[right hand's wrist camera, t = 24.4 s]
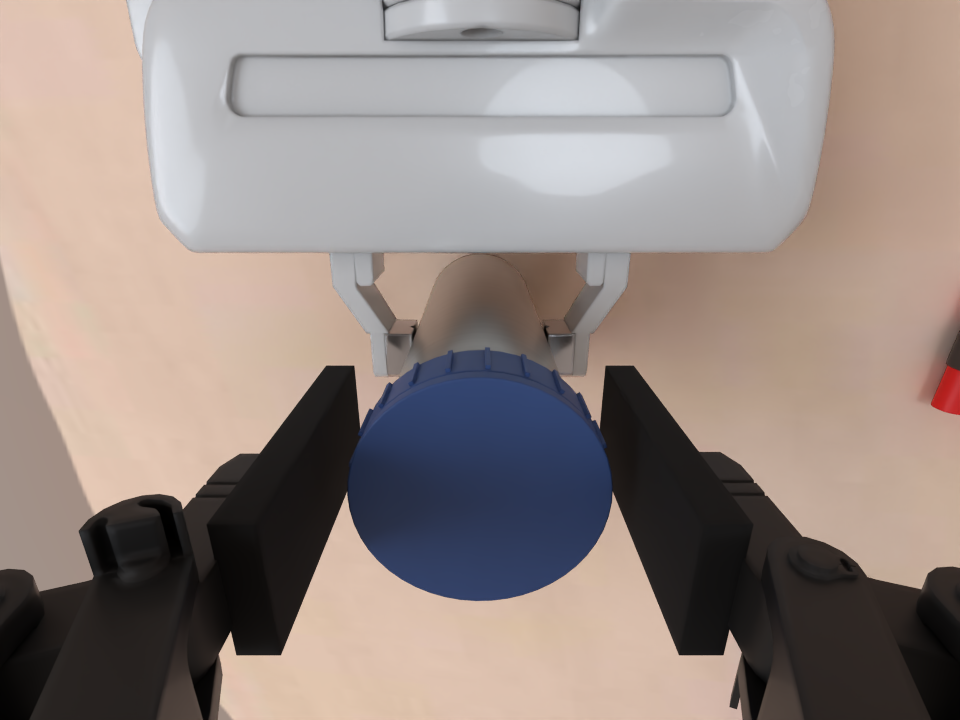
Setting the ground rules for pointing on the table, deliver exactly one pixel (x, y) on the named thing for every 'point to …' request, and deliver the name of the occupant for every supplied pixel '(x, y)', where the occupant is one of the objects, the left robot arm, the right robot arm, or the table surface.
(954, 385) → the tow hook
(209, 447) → the table surface
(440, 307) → the thermos
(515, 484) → the lid
